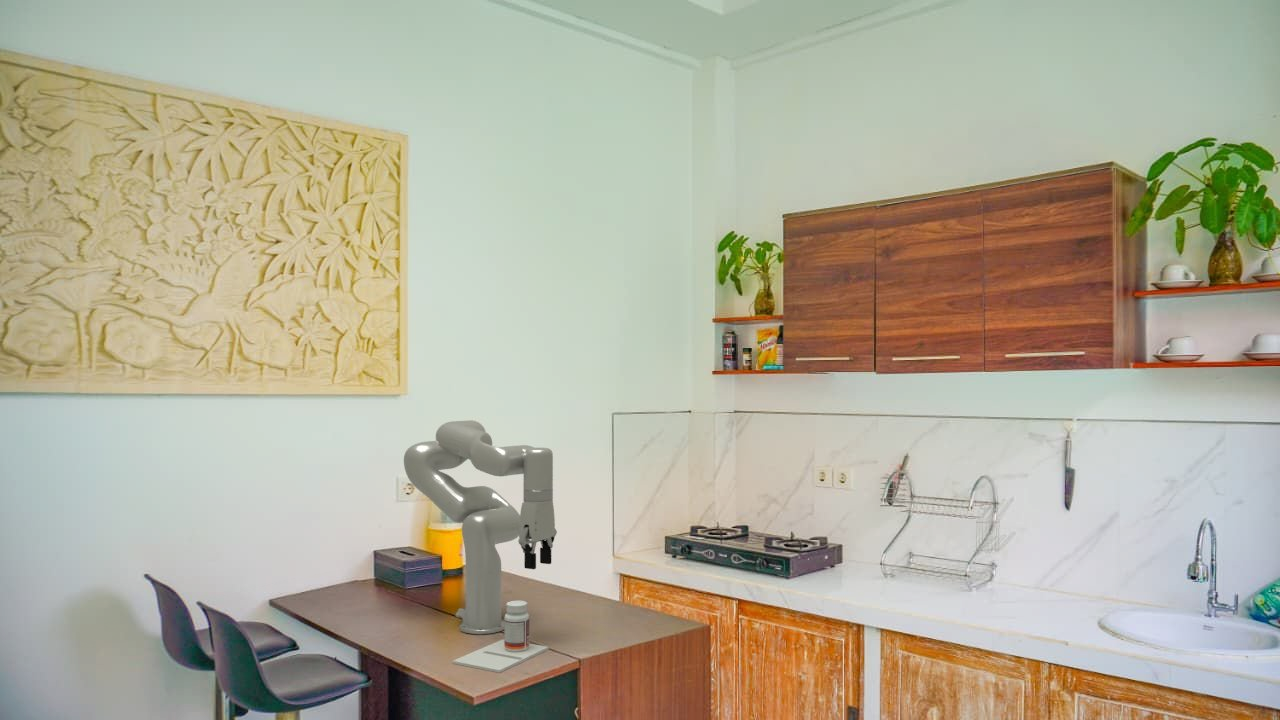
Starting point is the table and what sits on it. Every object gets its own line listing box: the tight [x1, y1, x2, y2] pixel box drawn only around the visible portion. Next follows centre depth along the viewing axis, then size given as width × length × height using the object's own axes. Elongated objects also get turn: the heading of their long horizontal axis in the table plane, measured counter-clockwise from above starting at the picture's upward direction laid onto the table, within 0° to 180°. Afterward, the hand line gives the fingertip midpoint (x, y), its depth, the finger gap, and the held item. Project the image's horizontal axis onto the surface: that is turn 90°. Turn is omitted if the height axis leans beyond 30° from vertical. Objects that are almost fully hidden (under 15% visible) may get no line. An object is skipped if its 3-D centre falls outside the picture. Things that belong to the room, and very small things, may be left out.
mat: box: [451, 638, 550, 674], centre depth 222 cm, size 14×20×1 cm
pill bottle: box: [503, 600, 530, 652], centre depth 226 cm, size 6×6×11 cm
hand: (538, 565), depth 234 cm, fingers open, 6 cm apart
